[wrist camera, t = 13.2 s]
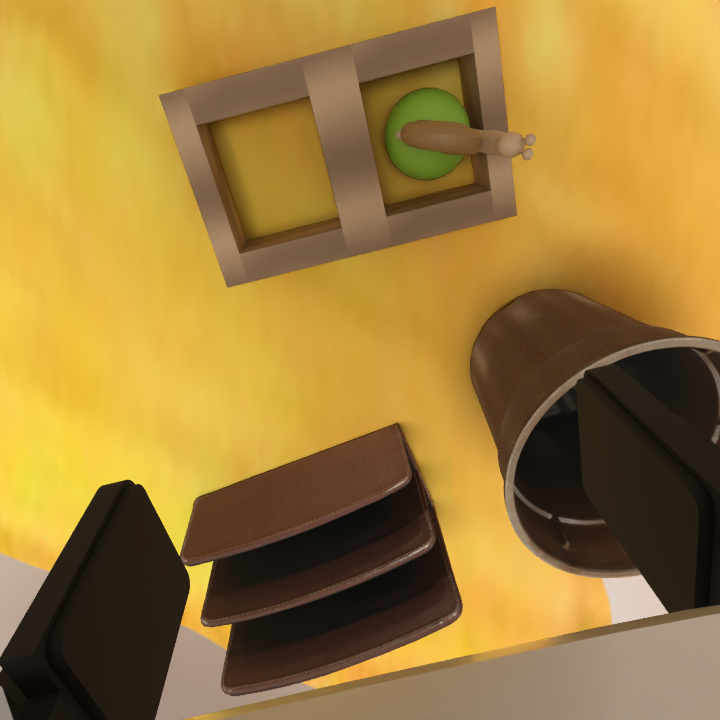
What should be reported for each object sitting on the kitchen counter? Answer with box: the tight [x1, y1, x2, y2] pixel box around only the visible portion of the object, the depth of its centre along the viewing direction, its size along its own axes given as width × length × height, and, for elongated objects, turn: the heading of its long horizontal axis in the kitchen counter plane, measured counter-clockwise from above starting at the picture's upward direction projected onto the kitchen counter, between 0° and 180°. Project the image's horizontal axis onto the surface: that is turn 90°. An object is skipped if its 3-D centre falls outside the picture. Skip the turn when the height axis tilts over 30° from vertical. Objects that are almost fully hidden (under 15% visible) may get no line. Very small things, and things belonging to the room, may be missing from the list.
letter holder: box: [180, 424, 463, 696], centre depth 43 cm, size 10×20×14 cm, turn 112°
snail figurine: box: [385, 88, 536, 180], centre depth 31 cm, size 5×6×12 cm
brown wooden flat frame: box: [159, 7, 517, 287], centre depth 35 cm, size 12×20×4 cm, turn 103°
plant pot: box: [470, 290, 720, 578], centre depth 37 cm, size 16×16×16 cm
